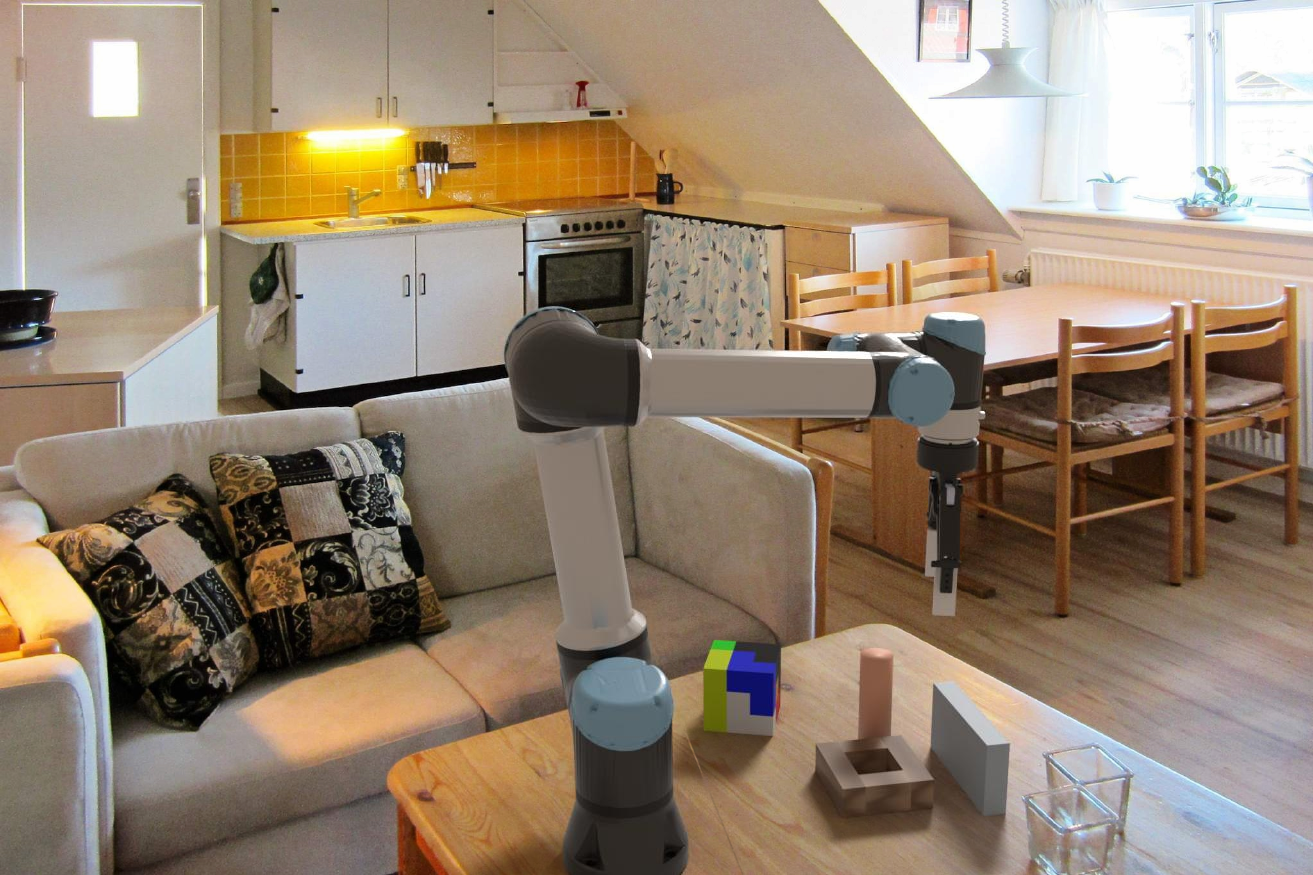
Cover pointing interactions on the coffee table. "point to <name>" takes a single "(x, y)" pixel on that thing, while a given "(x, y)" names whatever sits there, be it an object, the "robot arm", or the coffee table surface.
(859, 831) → the coffee table surface
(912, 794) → the block
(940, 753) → the board
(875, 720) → the dowel
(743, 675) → the puzzle toy
